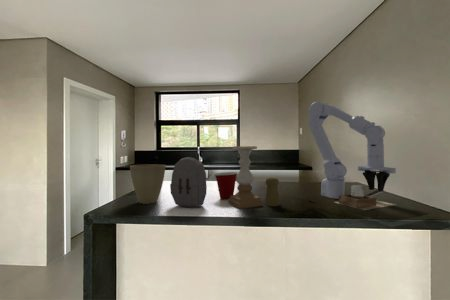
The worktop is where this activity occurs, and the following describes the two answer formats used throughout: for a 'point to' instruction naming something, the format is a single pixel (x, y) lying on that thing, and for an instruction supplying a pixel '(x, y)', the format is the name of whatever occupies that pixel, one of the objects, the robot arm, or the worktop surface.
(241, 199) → the candle holder
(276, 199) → the cork
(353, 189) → the steel peg
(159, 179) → the plant pot
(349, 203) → the socket board
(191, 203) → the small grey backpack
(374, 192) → the bar
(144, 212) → the worktop surface
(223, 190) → the plastic cup
